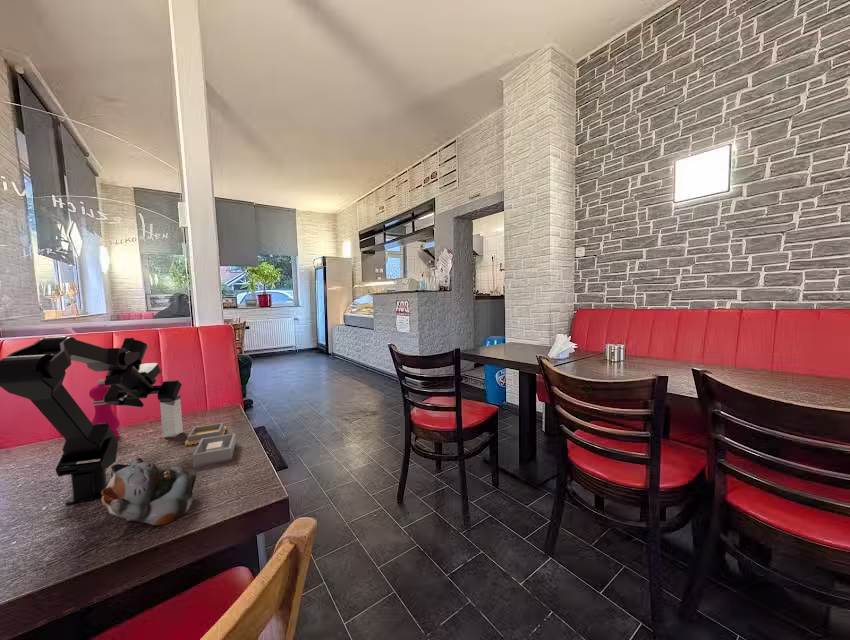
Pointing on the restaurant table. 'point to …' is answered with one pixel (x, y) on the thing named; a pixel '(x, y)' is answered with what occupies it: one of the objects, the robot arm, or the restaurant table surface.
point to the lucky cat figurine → (148, 492)
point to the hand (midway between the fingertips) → (158, 405)
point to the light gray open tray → (214, 450)
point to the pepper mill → (103, 407)
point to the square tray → (204, 433)
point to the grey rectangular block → (171, 418)
